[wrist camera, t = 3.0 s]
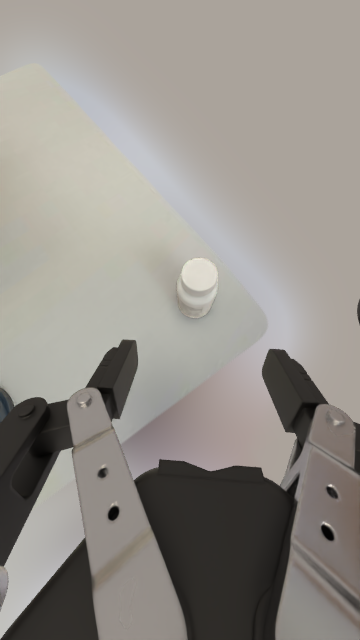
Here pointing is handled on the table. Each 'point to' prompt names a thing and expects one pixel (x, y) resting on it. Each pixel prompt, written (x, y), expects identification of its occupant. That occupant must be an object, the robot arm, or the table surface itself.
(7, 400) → the cup
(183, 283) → the pill bottle
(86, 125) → the table surface
